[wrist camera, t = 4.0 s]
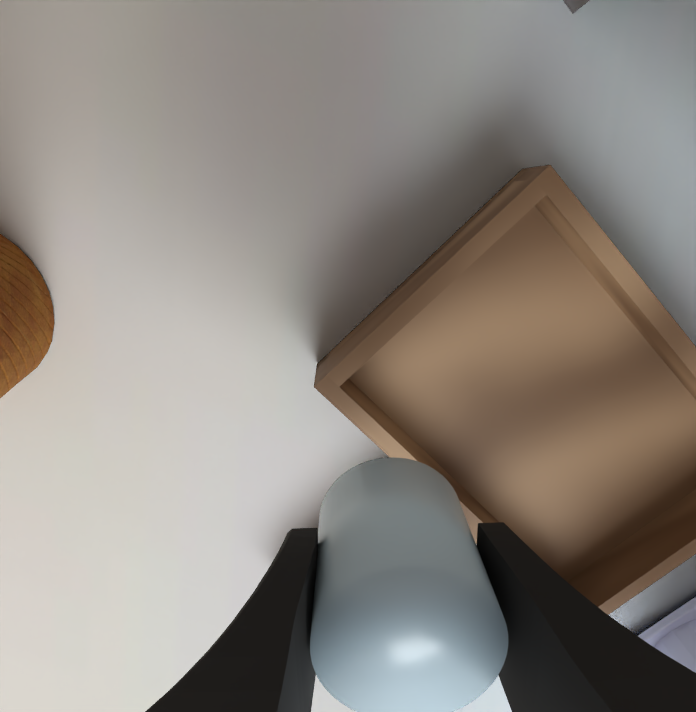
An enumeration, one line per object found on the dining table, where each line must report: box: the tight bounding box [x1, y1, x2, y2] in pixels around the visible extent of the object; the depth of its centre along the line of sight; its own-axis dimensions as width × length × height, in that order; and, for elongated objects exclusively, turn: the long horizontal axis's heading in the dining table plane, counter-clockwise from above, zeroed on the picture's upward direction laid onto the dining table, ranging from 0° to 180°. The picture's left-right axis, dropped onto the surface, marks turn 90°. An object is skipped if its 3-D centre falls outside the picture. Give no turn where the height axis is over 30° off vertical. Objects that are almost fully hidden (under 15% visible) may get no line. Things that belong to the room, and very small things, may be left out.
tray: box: [314, 165, 696, 615], centre depth 20 cm, size 15×18×2 cm
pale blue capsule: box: [310, 457, 508, 712], centre depth 12 cm, size 4×4×4 cm
